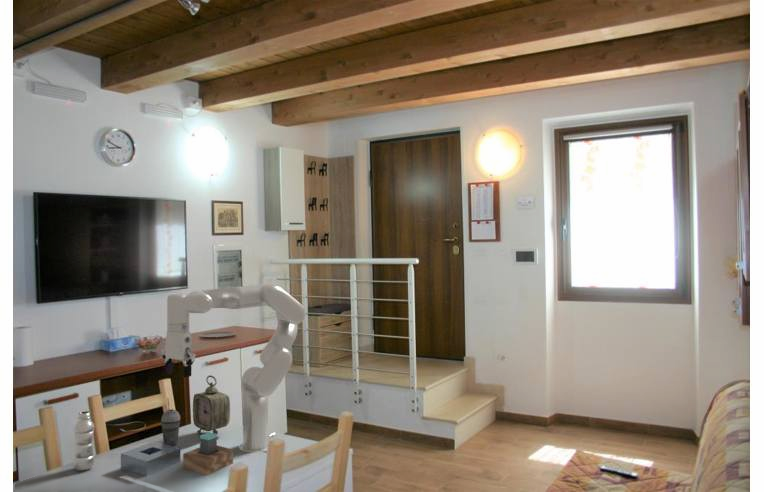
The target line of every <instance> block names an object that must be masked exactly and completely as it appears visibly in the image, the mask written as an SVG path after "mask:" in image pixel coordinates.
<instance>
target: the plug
mask: <svg viewBox="0 0 764 492" xmlns="http://www.w3.org/2000/svg"><path fill="white" fill-rule="evenodd" d="M217 434H218V433H217ZM217 434H214V433H213V432H211V431H207V432H206V433H203V434H201V435H200V434H199V447H200V454H204V455H207V456H208V455H211V454H213V453H216V452H217V444H218V442H217V441H218V438H217Z"/></svg>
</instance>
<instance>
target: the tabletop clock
mask: <svg viewBox="0 0 764 492" xmlns="http://www.w3.org/2000/svg"><path fill="white" fill-rule="evenodd" d="M209 378H212V379H213V380H214V381H215V382H214V383H215V384H214V383H213V382H212V381H211V382H209V380H208V379H209ZM205 380H206V383H207V385H209V386H208V387H206V389H205V390H204V391H203V392H199V393H195V394H194V395H193V401H192V402H193V403H192V420H193V425H194V426H195V427H196V428H198V430H197V431H196V434H198V435H200V434H201V433H202V431H205V432H212V433H214V434H218V433H219V431H218V429H219V430H220V429H223V428H225V427H227V426H228V425H229V423H230V420H231V400H230V396H228V395H227V394H226V393H223V392H220V391H218V388H217V387H216V385H217V378H216V377H215V376H213V375H211V374H210V375H207V377H206V378H205Z"/></svg>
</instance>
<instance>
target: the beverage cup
mask: <svg viewBox="0 0 764 492" xmlns="http://www.w3.org/2000/svg"><path fill="white" fill-rule="evenodd" d="M166 399H167V410H166V411H164V413H163V414H162V416H161V418H160V419H161V420H160V424H161V429H162V430H161V431H162V441H163V442H162V443H163V444H166V445H170V446H173V447H177V448H178V443H179V434H180V433H179V430H180V425H181V420H182V419H181V415H180V413H179V411H177V410H175V409H171V408H170V407H171V406H170V398H169V397H168V398H166Z"/></svg>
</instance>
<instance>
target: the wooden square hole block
mask: <svg viewBox="0 0 764 492" xmlns="http://www.w3.org/2000/svg"><path fill="white" fill-rule="evenodd" d="M182 458H183V459H182V468H183V469H184V470H189V471H191V472H194V473H195V472H196V473H199V474H201V475H204V476H209V475H212V474H214V473H216V472H217V471H219V470H220V471H221V470H222V469H224V468H226V467H228V466H231V465H233V464H234V449H232V448H230V447H225V446H222V445H217V452H216V453H213V454H211V455H208V456H207V455H204V454H200V446H199V447H197V448H194V449H192V450H189V451H187V452H184V453H183V454H182Z"/></svg>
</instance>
